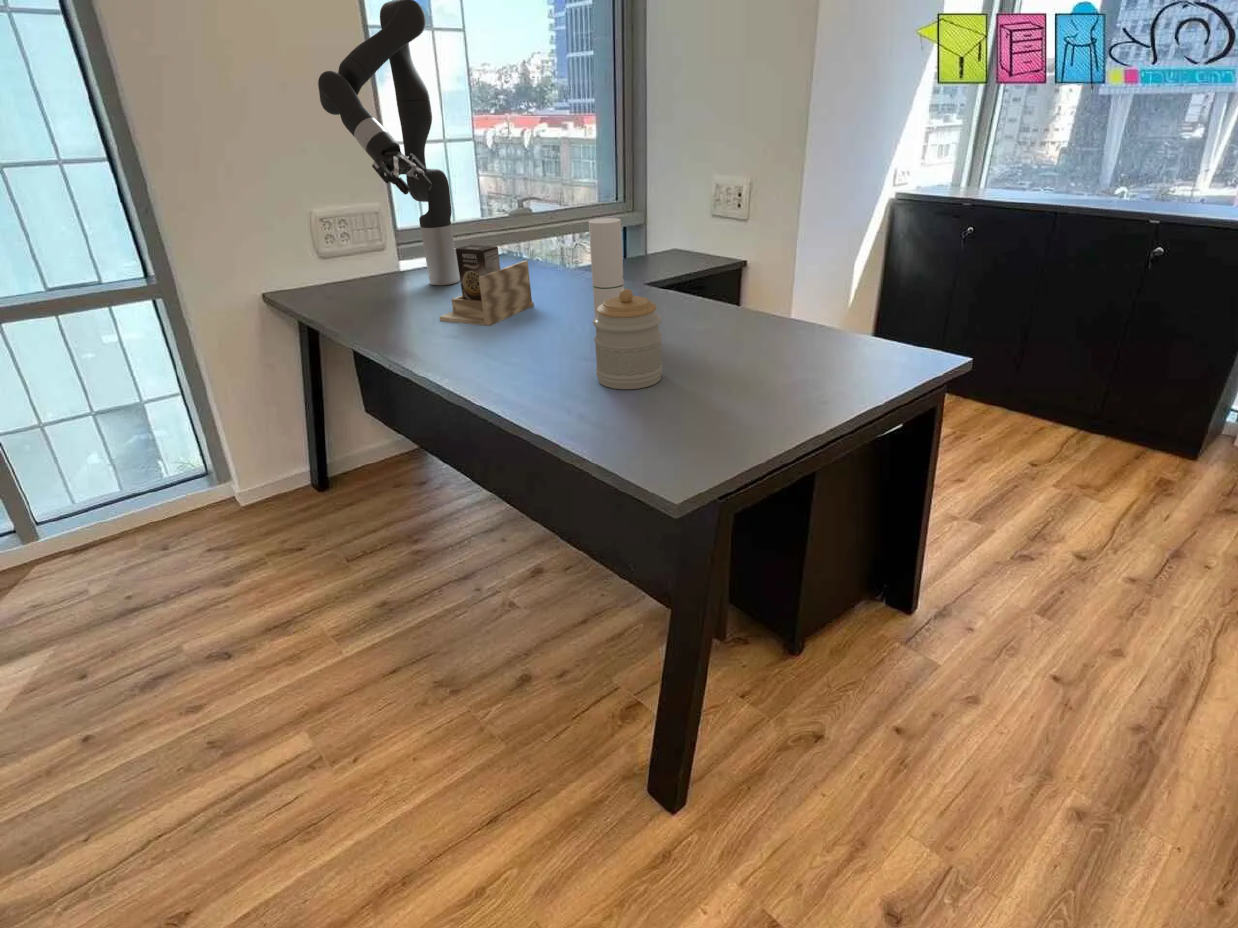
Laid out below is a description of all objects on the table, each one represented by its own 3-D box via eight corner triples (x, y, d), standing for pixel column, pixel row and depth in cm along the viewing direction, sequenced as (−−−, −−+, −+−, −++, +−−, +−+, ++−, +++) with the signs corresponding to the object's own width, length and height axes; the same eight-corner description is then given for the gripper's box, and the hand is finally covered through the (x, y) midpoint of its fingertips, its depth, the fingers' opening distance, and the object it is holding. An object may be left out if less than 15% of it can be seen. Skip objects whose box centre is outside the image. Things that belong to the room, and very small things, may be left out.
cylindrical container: (627, 325, 174) (622, 217, 163) (624, 334, 168) (618, 222, 157) (597, 326, 175) (590, 218, 164) (593, 335, 169) (586, 224, 157)
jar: (672, 385, 137) (670, 292, 129) (606, 395, 134) (601, 301, 126) (650, 364, 149) (647, 278, 141) (589, 373, 146) (583, 285, 138)
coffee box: (463, 311, 190) (454, 248, 183) (479, 305, 195) (470, 243, 188) (490, 314, 186) (482, 250, 179) (505, 307, 191) (498, 245, 184)
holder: (486, 301, 203) (480, 258, 197) (533, 305, 196) (529, 260, 190) (439, 320, 187) (432, 273, 182) (489, 325, 180) (483, 277, 175)
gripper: (362, 132, 176) (406, 182, 177) (402, 128, 188) (443, 175, 188) (350, 156, 181) (394, 204, 181) (390, 151, 192) (431, 197, 192)
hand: (419, 190), depth 185 cm, fingers open, 8 cm apart
